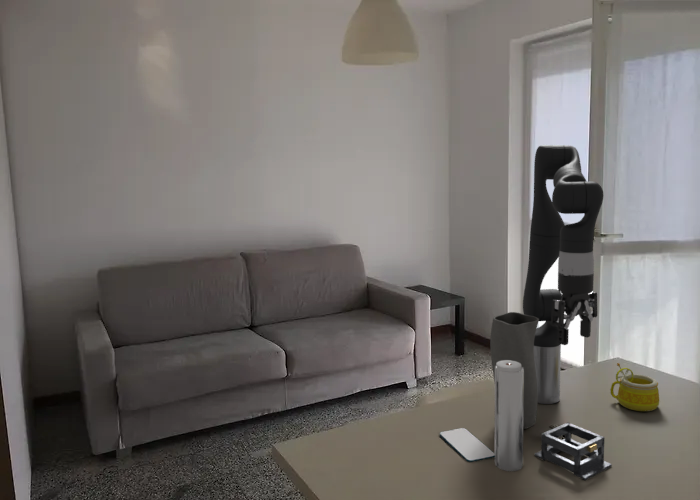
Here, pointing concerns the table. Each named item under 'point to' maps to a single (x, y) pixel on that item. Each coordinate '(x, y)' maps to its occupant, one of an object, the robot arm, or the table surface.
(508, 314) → the vase
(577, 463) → the collar bracket
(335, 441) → the table surface
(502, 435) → the silver metal cylinder
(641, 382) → the mug
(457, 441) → the smartphone
